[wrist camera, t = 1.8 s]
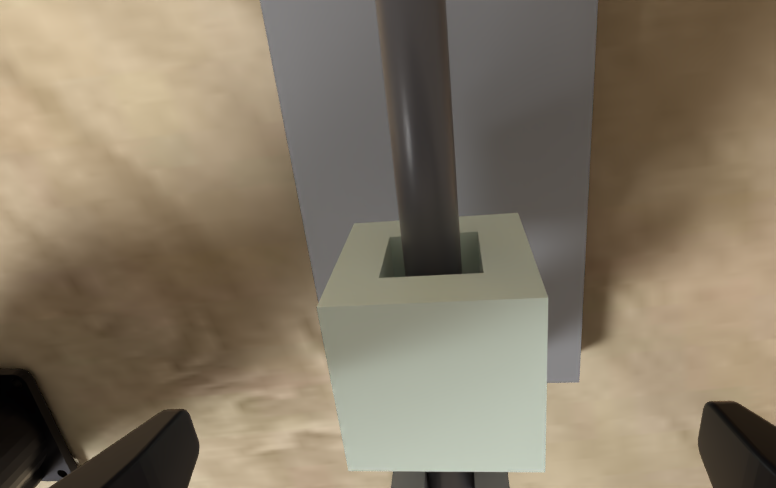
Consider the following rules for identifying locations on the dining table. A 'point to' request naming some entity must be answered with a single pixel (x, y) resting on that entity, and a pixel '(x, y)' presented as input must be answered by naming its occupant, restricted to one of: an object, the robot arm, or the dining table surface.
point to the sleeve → (439, 352)
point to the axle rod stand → (443, 139)
